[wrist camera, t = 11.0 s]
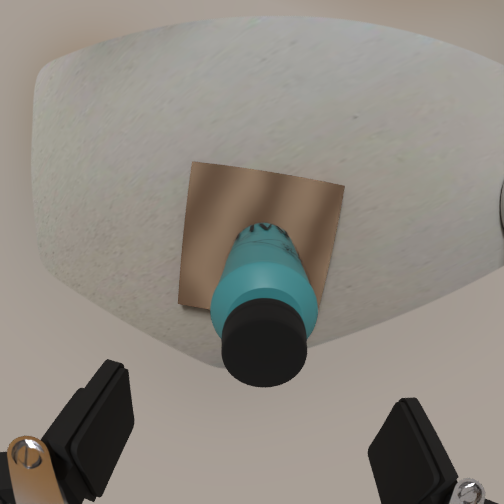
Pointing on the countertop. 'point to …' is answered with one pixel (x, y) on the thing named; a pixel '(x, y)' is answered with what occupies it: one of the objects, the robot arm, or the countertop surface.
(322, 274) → the walnut board
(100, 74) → the countertop surface
